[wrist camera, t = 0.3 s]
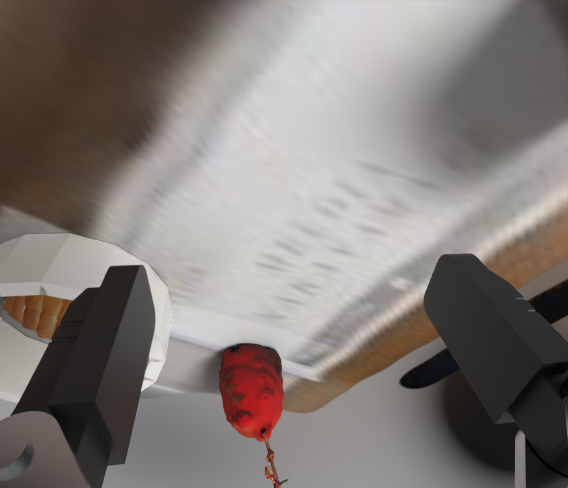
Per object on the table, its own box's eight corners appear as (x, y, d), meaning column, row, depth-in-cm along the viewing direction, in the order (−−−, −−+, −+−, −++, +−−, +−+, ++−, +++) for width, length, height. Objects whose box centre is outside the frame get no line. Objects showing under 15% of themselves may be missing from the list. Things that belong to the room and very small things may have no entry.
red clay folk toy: (206, 352, 39) (197, 516, 27) (259, 327, 37) (274, 489, 26) (244, 380, 43) (250, 531, 31) (292, 359, 42) (318, 509, 30)
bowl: (-72, 236, 26) (-132, 288, 21) (157, 231, 28) (144, 277, 24) (17, 363, 36) (-11, 416, 31) (180, 352, 38) (174, 400, 34)
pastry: (6, 308, 31) (-17, 343, 28) (21, 257, 28) (-4, 290, 25) (113, 334, 35) (103, 367, 32) (136, 292, 32) (127, 324, 29)
